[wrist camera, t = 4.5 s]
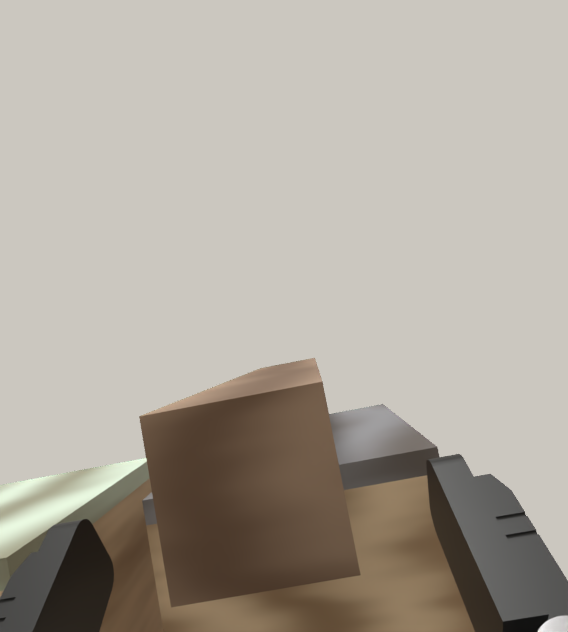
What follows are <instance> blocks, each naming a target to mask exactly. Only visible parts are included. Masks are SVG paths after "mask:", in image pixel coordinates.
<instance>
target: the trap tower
mask: <svg viewBox="0 0 568 632" xmlns="http://www.w3.org/2000/svg"><path fill="white" fill-rule="evenodd" d="M329 418H330V423H331V428H332V433H333V438H334V443H335V448H336V453H337V458H338V463H339V468H340V473H341V479H342V484H343V489H344V494H345V499H346V504H347V509H348V514H349V519H350V524H351V529H352V534H353V539H354V544H355V549H356V554H357V559H358V564H359V569H360V574H361V575H359V576H353V577H347V578H341V579H336V580H330V581H324V582H318V583H312V584H306V585H300V586H295V587H289V588H283V589H277V590H271V591H265V592H259V593H254V594H248V595H242V596H236V597H230V598H224V599H218V600H213V601H207V602H201V603H195V604H189V605H183V606H177V607H171V604H170V598H169V592H168V586H167V580H166V574H165V568H164V562H163V556H162V550H161V544H160V538H159V532H158V526H157V520H156V514H155V508H154V502H153V495H152V492H151V493H150V494H149V495H148V496H147V497H145V498H144V499H143V500H142V503H143V509H144V515H145V521H146V527H147V533H148V540H149V546H150V552H151V558H152V564H153V570H154V576H155V582H156V588H157V594H158V601H159V607H160V613H161V619H162V625H163V631H164V632H475V630H474V628H473V625H472V623H471V620H470V618H469V615H468V612H467V610H466V607H465V605H464V602H463V600H462V597H461V595H460V592H459V590H458V587H457V584H456V582H455V579H454V577H453V574H452V572H451V569H450V567H449V564H448V562H447V559H446V556H445V554H444V551H443V549H442V546H441V544H440V541H439V539H438V536H437V533H436V530H435V527H434V524H433V520H432V516H431V511H430V504H429V492H428V479H427V467H426V462H427V460H428V459H434V458H439V454H438V449H437V446H435V445H434V444H432V442H430V441H429V440H428V439H426V438H425V437H424V436H423V435H421V434H420V433H419V432H418V431H416V430H415V429H414V428H413V427H411V426H410V425H409V424H407V423H406V422H405V421H404V420H402V419H401V418H400V417H399V416H397V415H396V414H395V413H393V412H392V411H391V410H390V409H388V408H387V407H386V406H385V405H383V404H381V405H376V406H371V407H366V408H360V409H355V410H349V411H344V412H339V413H334V414H329Z"/></svg>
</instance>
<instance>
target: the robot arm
mask: <svg viewBox="0 0 568 632" xmlns="http://www.w3.org/2000/svg"><path fill="white" fill-rule="evenodd" d="M426 467H427V479H428V492H429V504H430V511H431V516H432V520H433V524H434V527H435V530H436V533H437V536H438V539H439V541H440V544H441V546H442V549H443V551H444V554H445V556H446V559H447V562H448V564H449V567H450V569H451V572H452V574H453V577H454V579H455V582H456V584H457V587H458V590H459V592H460V595H461V597H462V600H463V602H464V605H465V607H466V610H467V612H468V615H469V618H470V620H471V623H472V625H473V628H474V630H475V632H568V581H567V579H566V577H565V576H564V574H563V573H562V571H561V569H560V568H559V566H558V565H557V563H556V561H555V560H554V558H553V557H552V555H551V553H550V552H549V550H548V548H547V547H546V545H545V544H544V542H543V540H542V539H541V537H540V536H539V535H538V534H537V532H536V529H535V528H534V526H533V524H532V523H531V521H530V520H529V518H528V517H527V516H526V515H525V511H524V510H523V508H522V507H521V505H520V503H519V502H518V500H517V499H516V497H515V495H514V494H513V492H512V491H511V490H510V489H509V488H508V487H506V486H505V485H504V484H503V483H501V482H500V481H499V480H498V479H496V478H495V477H494V476H492V475H491V474H487V475H481V476H476V477H473V475H472V473H471V471H470V469H469V467H468V466H467V464H466V462H465V460H464V459H463V457H462V456H461V455H460V454H456V455H451V456H445V457H440V458H434V459H428V460H427V462H426ZM113 582H114V568H113V563H112V560H111V558H110V556H109V554H108V552H107V550H106V548H105V547H104V545H103V543H102V541H101V539H100V537H99V535H98V534H97V532H96V530H95V528H94V526H93V524H92V523H91V522H90V521H89V520H88V519H83V520H77V521H71V522H66V523H60V524H55V525H53V526H52V527H51V528H50V529H49V530H48V532H47V534H46V536H45V538H44V540H43V542H42V544H41V546H40V548H39V550H38V552H33V553H30V555H29V556H28V557H27V558H26V559H25V560H24V562H23V563H22V564H21V565H20V566H19V567H18V568H17V570H16V571H15V572H14V573H13V574H12V576H11V577H10V579H9V581H8V583H7V585H6V587H5V589H4V591H3V593H2V595H1V597H0V632H99V631H100V628H101V625H102V621H103V618H104V615H105V611H106V608H107V605H108V601H109V598H110V595H111V591H112V588H113Z"/></svg>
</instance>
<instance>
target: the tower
mask: <svg viewBox="0 0 568 632" xmlns="http://www.w3.org/2000/svg"><path fill="white" fill-rule="evenodd" d="M151 492H152V489H151V483H150V477H149V471H148V465H147V459H146V458H143V459H138V460H133V461H127V462H123V463H117V464H111V465H107V466H100V467H95V468H90V469H84V470H79V471H74V472H69V473H63V474H57V475H52V476H47V477H41V478H36V479H31V480H25V481H20V482H15V483H9V484H4V485H0V597H1V595H2V593H3V591H4V589H5V587H6V585H7V583H8V581H9V579H10V577H11V576H12V574H13V573H14V572H15V571H16V570H17V568H18V567H19V566H20V565H21V564H22V563H23V562H24V560H25V559H26V558H27V557H28V556H29V555H30V553H33V552H38V550H39V548H40V546H41V544H42V542H43V540H44V538H45V536H46V534H47V532H48V530H49V529H50V528H51V527H52V526H53V525H55V524H60V523H66V522H71V521H77V520H83V519H88V520H89V521H90V522H91V523H92V524H93V526H94V528H95V530H96V532H97V534H98V535H99V537H100V539H101V541H102V543H103V545H104V547H105V548H106V550H107V552H108V554H109V556H110V558H111V560H112V563H113V568H114V582H113V588H112V591H111V595H110V598H109V601H108V605H107V608H106V611H105V615H104V618H103V621H102V625H101V628H100V631H99V632H164V631H163V625H162V619H161V613H160V607H159V601H158V594H157V588H156V582H155V576H154V570H153V564H152V558H151V552H150V546H149V540H148V533H147V527H146V521H145V515H144V509H143V503H142V500H143V499H144V498H145V497H147V496H148V495H149V494H150V493H151Z"/></svg>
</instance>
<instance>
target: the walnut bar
mask: <svg viewBox="0 0 568 632" xmlns="http://www.w3.org/2000/svg"><path fill="white" fill-rule="evenodd" d="M140 423H141V429H142V435H143V441H144V447H145V453H146V459H147V465H148V471H149V477H150V483H151V489H152V495H153V502H154V508H155V514H156V520H157V526H158V532H159V538H160V544H161V550H162V556H163V562H164V568H165V574H166V580H167V586H168V592H169V598H170V604H171V607H177V606H183V605H189V604H195V603H201V602H207V601H213V600H218V599H224V598H230V597H236V596H242V595H248V594H254V593H259V592H265V591H271V590H277V589H283V588H289V587H295V586H300V585H306V584H312V583H318V582H324V581H330V580H336V579H341V578H347V577H353V576H359V575H361V574H360V569H359V564H358V559H357V554H356V549H355V544H354V539H353V534H352V529H351V524H350V519H349V514H348V509H347V504H346V499H345V494H344V489H343V484H342V479H341V473H340V468H339V463H338V458H337V453H336V448H335V443H334V438H333V433H332V428H331V423H330V418H329V413H328V408H327V403H326V398H325V393H324V388H323V383H322V380H321V376H320V373H319V370H318V367H317V364H316V361H315V358H312V359H306V360H301V361H296V362H291V363H286V364H281V365H275V366H271V367H265V368H260V369H258V370H255V371H253V372H250V373H248V374H245V375H243V376H240V377H238V378H235V379H233V380H230V381H227V382H225V383H223V384H220V385H218V386H215V387H212V388H210V389H207V390H205V391H202V392H200V393H197V394H195V395H192V396H190V397H187V398H185V399H182V400H180V401H177V402H175V403H172V404H169V405H167V406H164V407H162V408H159V409H157V410H154V411H152V412H149V413H147V414H144V415H142V416H140Z"/></svg>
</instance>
